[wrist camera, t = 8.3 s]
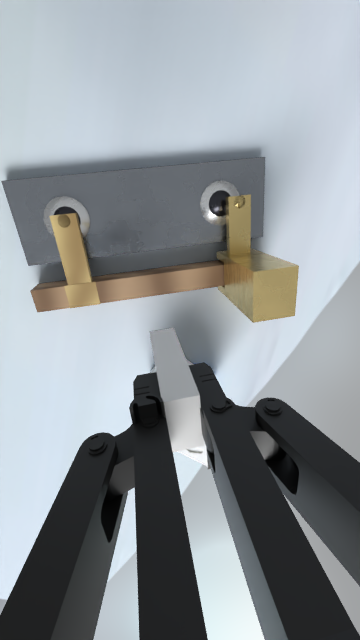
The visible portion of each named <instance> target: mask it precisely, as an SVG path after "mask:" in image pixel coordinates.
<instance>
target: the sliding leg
mask: <svg viewBox="0 0 360 640" xmlns="http://www.w3.org/2000/svg"><path fill="white" fill-rule="evenodd" d="M226 228H227V250H225V251H218V252H217V259H219V260H220V261H222V262H223V263H224V284H225V286H218V289H219V290H220V291H221V292H222V293H223V294H224V295H225V296H226V297H227V298H228V299H229V300H230V301H231V302H232V303H233V304H234V305H235V306H236V307H237V308H238V309H239V310H240V311H241V312H242V313H243V314H245V315H246V316H247V317H248V318H249V319H250V320H251V321H252V322H259V321H266V320H272V319H278V318H284V317H290V316H295V306H296V294H297V281H298V269H299V266H298V265H296V264H293V263H290V262H287V261H285V260H282V259H279V258H276V257H274V256H271V255H268V254H265V253H263V252H260V251H257V250H254V249H252V248H251V194H250V195H240V196H230V197H226Z"/></svg>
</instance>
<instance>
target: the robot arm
mask: <svg viewBox="0 0 360 640" xmlns="http://www.w3.org/2000/svg"><path fill="white" fill-rule="evenodd" d="M150 338H151V344H152V350H153V357H154V363H155V369H156V372H154V373H148V374H143V375H137V377H136V379H135V380H134V382H133V385H134V400H133V401H132V403H131V404H130V408H129V409H130V413H131V418H132V422H133V424H132V425H131V426H130V427H129V428H128V429H127V430H126V431H124V432H123V433H121V434H119V435H117V436H115V437H114V436H112V435H111V434H109V433H104V432H103V433H97V434H94V435H92V436H90V437H89V438H87V439H86V440H85V441H84V442H83V443H82V445H81V446H80V448H79V450H78V452H77V454H76V456H75V459H74V461H73V463H72V465H71V467H70V469H69V471H68V473H67V475H66V478H65V480H64V482H63V484H62V486H61V488H60V490H59V492H58V494H57V497H56V499H55V501H54V503H53V505H52V507H51V509H50V511H49V513H48V516H47V518H46V520H45V522H44V524H43V526H42V528H41V530H40V532H39V535H38V537H37V539H36V541H35V543H34V545H33V547H32V549H31V551H30V554H29V556H28V558H27V560H26V562H25V564H24V566H23V568H22V571H21V573H20V575H19V577H18V579H17V581H16V583H15V585H14V587H13V590H12V592H11V594H10V596H9V598H8V600H7V602H6V604H5V607H4V609H3V611H2V613H1V615H0V640H93V638H94V634H95V629H96V626H97V621H98V617H99V613H100V609H101V604H102V600H103V596H104V592H105V587H106V583H107V579H108V575H109V571H110V566H111V562H112V558H113V554H114V550H115V545H116V541H117V537H118V533H119V529H120V524H121V520H122V516H123V512H124V507H125V503H126V499H127V495H128V491H129V490H131V489H132V488H134V487H135V507H136V540H137V573H138V605H139V637H140V640H208V639H207V633H206V628H205V623H204V617H203V612H202V607H201V602H200V596H199V591H198V585H197V580H196V575H195V570H194V564H193V559H192V553H191V548H190V543H189V537H188V532H187V527H186V521H185V516H184V511H183V506H182V500H181V495H180V489H179V484H178V479H177V473H176V468H175V463H174V457H173V452H177V451H182V450H186V449H191V448H195V447H200V446H204V442H205V445H206V450H207V462H208V469H211V470H212V474H213V477H214V480H215V483H216V486H217V489H218V492H219V496H220V499H221V502H222V505H223V508H224V512H225V515H226V518H227V521H228V524H229V528H230V531H231V534H232V537H233V540H234V543H235V547H236V550H237V553H238V556H239V559H240V562H241V566H242V569H243V572H244V575H245V578H246V581H247V585H248V588H249V591H250V594H251V597H252V600H253V604H254V607H255V610H256V613H257V616H258V620H259V623H260V626H261V629H262V632H263V635H264V639H265V640H360V636H359V634H358V632H357V631H356V629H355V627H354V625H353V624H352V622H351V620H350V618H349V616H348V614H347V612H346V610H345V609H344V607H343V605H342V603H341V601H340V599H339V597H338V595H337V594H336V592H335V590H334V588H333V586H332V584H331V582H330V581H329V579H328V577H327V575H326V573H325V571H324V570H323V568H322V566H321V564H320V562H319V560H318V558H317V557H316V555H315V553H314V551H313V549H312V547H311V545H310V544H309V542H308V540H307V538H306V536H305V534H304V532H303V530H302V529H301V527H300V525H299V523H298V521H297V519H296V517H295V515H294V514H293V512H292V510H291V508H290V506H289V504H288V502H287V501H286V499H285V497H284V495H285V496H286V498H287V499H288V500H289V501H290V502H291V504H292V505H293V506H294V507H295V508H296V510H297V511H298V512H299V513H300V514H301V516H302V517H303V518H304V519H305V521H306V522H307V523H308V524H309V525H310V527H311V528H312V529H313V530H314V531H315V533H316V534H317V535H318V536H319V537H320V539H321V540H322V541H323V542H324V544H325V545H326V546H327V547H328V548H329V550H330V551H331V552H332V553H333V554H334V556H335V557H336V558H337V559H338V560H339V562H340V563H341V564H342V565H343V566H344V568H345V569H346V570H347V571H348V573H349V574H350V575H351V576H352V577H353V579H354V580H355V581H356V582H357V583H358V585H359V586H360V463H359V462H358V461H357V460H356V459H354V458H353V457H352V456H351V455H349V454H348V453H347V452H346V451H344V450H343V449H342V448H341V447H340V446H338V445H337V444H336V443H335V442H333V441H332V440H330V438H328V437H327V436H326V435H325V434H323V433H322V432H321V431H320V430H319V429H317V428H316V427H315V426H313V425H312V424H311V423H310V422H309V421H307V420H306V419H305V418H304V417H302V416H301V415H300V414H299V413H297V412H296V411H295V410H294V409H293V408H291V407H290V406H289V405H287V404H286V403H285V402H283V401H282V400H279V399H276V398H264V399H261V400H259V401H258V402H257V404H256V406H255V407H242V406H238V405H235V404H234V403H233V401H232V400H230V399H228V398H227V397H226V396H225V394H224V392H223V390H222V388H221V386H220V384H219V382H218V381H217V379H216V377H215V375H214V373H213V371H212V369H211V367H210V366H208V365H207V364H205V363H199V364H194V365H188V363H187V360H186V358H185V355H184V353H183V350H182V347H181V345H180V342H179V340H178V337H177V334H176V332H175V329H174V328H168V329H162V330H156V331H150ZM283 494H284V495H283Z"/></svg>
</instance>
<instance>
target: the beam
mask: <svg viewBox="0 0 360 640" xmlns="http://www.w3.org/2000/svg"><path fill="white" fill-rule="evenodd" d="M49 217H50V220H51V224H52V228H53V231H54V235H55V239H56V242H57V246H58V250H59V254H60V257H61V261H62V265H63V268H64V272H65V276H66V279H67V280H64V281H56V282H48V283H41V284H38V285H37V286H36V287H34V288H33V289H32V290H31V294H32V297H33V300H34V303H35V306H36V309H37V312H44V311H51V310H57V309H64V308H75V307H82V306H89V305H96V304H100V303H106V302H113V301H120V300H127V299H134V298H141V297H148V296H155V295H162V294H169V293H176V292H183V291H190V290H197V289H204V288H211V287H218V286H225V284H224V263H223V262H222V261H220V260H215V261H207V262H200V263H192V264H184V265H177V266H169V267H162V268H154V269H147V270H139V271H132V272H124V273H116V274H109V275H101V276H94V277H92V276H91V271H90V267H89V263H88V258H87V254H86V250H85V245H84V241H83V237H82V232H81V228H80V224H79V219H78V215H77V213H70V214H61V215H52V216H49Z"/></svg>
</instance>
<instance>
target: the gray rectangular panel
mask: <svg viewBox="0 0 360 640" xmlns="http://www.w3.org/2000/svg"><path fill="white" fill-rule="evenodd" d="M264 175H265V157H260V158H249V159H238V160H226V161H215V162H204V163H193V164H182V165H171V166H160V167H149V168H138V169H127V170H116V171H105V172H94V173H83V174H72V175H61V176H50V177H39V178H28V179H17V180H6V181H2V184H3V188H4V191H5V194H6V197H7V200H8V203H9V206H10V209H11V213H12V216H13V219H14V222H15V225H16V228H17V231H18V234H19V237H20V241H21V244H22V247H23V250H24V253H25V256H26V259H27V262H28V265H29V266H30V265H38V264H46V263H54V262H62V261H61V257H60V254H59V250H58V246H57V242H56V239H55V235H54V231H53V228H52V224H51V220H50V217H49V216H52V215H61V214H70V213H77V215H78V219H79V224H80V228H81V232H82V237H83V241H84V245H85V250H86V254H87V258H94V257H103V256H111V255H119V254H127V253H135V252H143V251H151V250H159V249H167V248H175V247H183V246H191V245H199V244H207V243H215V242H223V241H227V228H226V197H230V196H240V195H250V194H251V238H255V237H263V215H264Z"/></svg>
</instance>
